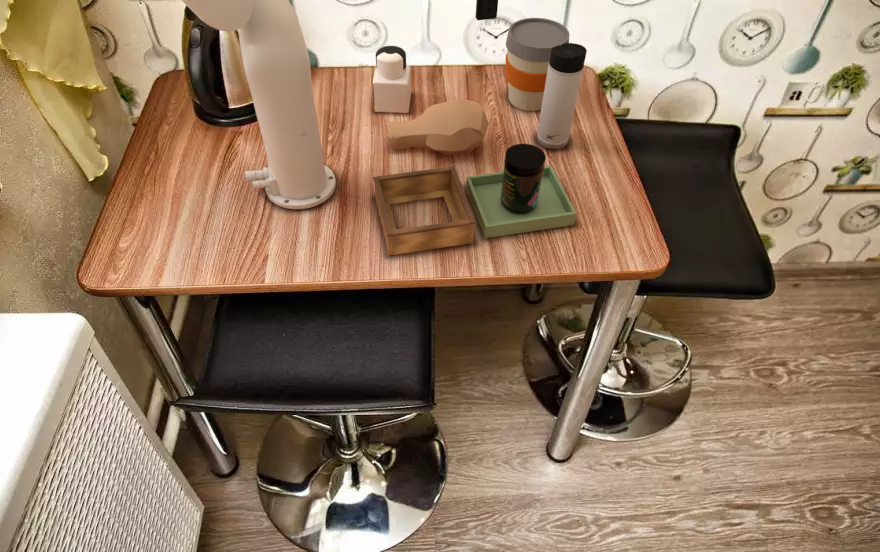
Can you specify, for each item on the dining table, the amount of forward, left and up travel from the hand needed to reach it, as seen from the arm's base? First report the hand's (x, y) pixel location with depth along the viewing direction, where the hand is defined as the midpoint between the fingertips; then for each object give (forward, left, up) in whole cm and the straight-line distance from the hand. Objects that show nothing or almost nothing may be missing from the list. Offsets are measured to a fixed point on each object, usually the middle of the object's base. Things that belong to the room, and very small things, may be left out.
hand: (477, 3), depth 97 cm
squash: (-5, +5, -31) cm, 31 cm away
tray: (+6, -15, -30) cm, 34 cm away
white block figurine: (-11, +21, -31) cm, 39 cm away
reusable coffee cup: (+18, +17, -31) cm, 39 cm away
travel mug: (+18, +2, -31) cm, 35 cm away
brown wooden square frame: (-12, -15, -30) cm, 36 cm away
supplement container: (+5, -15, -30) cm, 34 cm away
